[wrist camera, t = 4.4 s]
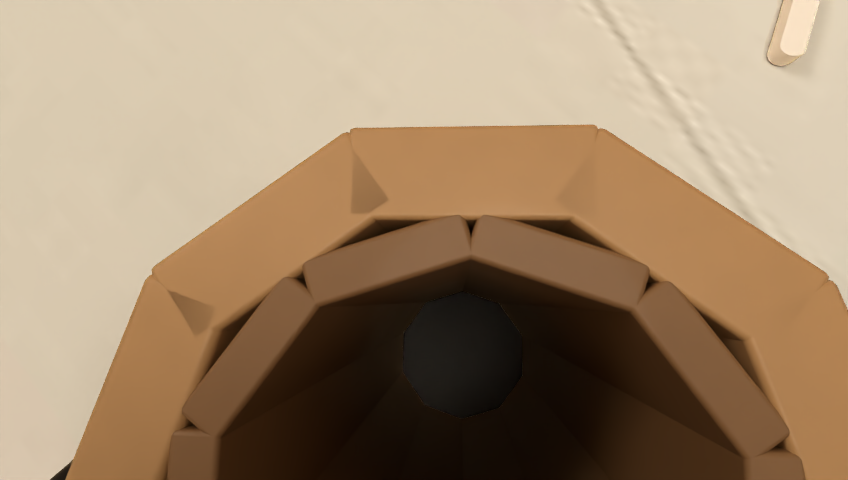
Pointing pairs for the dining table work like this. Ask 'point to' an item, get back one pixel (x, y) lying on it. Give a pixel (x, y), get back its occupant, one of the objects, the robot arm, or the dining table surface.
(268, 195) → the tan hollow tube
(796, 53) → the white anchor emblem
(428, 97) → the dining table surface
